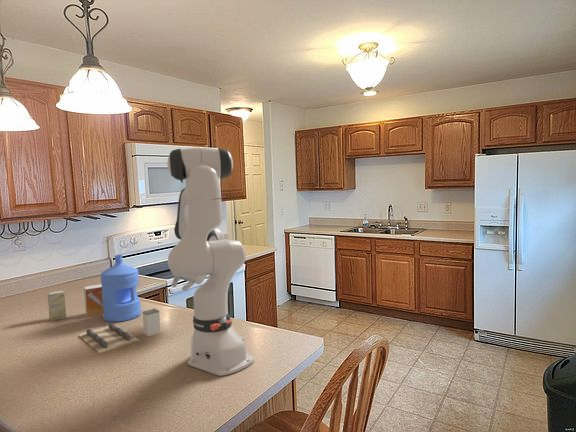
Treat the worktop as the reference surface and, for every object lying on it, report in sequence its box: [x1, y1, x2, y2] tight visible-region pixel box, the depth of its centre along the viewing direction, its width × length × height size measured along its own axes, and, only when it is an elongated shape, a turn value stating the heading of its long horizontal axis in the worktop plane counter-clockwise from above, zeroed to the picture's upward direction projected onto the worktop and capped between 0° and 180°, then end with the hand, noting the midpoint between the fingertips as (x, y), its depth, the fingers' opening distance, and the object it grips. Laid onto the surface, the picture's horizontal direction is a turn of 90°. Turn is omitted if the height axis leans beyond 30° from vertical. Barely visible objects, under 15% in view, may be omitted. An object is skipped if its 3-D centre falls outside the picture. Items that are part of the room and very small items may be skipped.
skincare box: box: [47, 289, 67, 322], centre depth 173 cm, size 6×4×12 cm
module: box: [141, 308, 161, 337], centre depth 152 cm, size 4×5×9 cm
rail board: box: [78, 322, 140, 354], centre depth 148 cm, size 24×14×3 cm, turn 44°
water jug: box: [100, 254, 142, 323], centre depth 172 cm, size 16×16×28 cm
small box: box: [83, 283, 104, 318], centre depth 178 cm, size 8×6×13 cm
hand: (178, 288), depth 159 cm, fingers open, 8 cm apart
